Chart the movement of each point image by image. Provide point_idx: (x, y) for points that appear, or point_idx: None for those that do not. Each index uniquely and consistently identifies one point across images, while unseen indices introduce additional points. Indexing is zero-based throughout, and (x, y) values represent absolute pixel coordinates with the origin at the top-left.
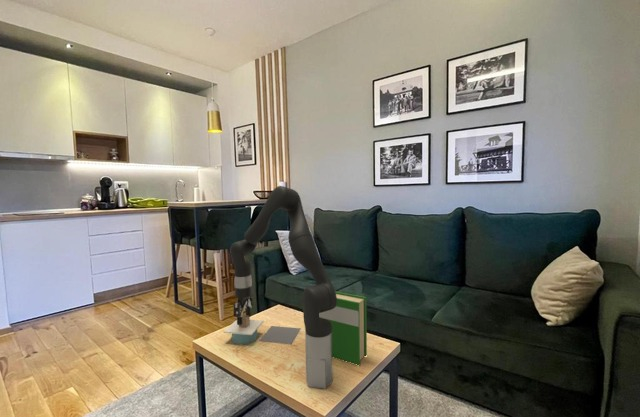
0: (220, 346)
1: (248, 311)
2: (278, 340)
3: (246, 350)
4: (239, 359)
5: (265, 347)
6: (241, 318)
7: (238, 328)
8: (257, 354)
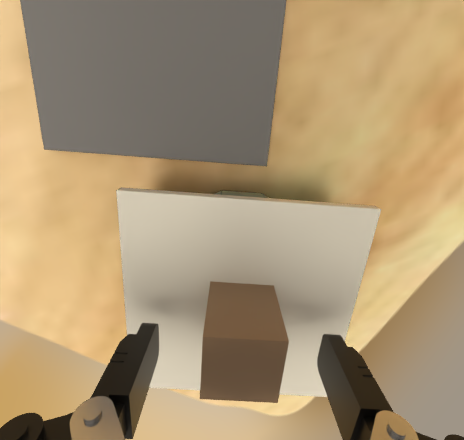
0: None
1: (141, 383)
2: (248, 18)
3: None
4: (449, 208)
5: (330, 98)
6: (369, 390)
7: (287, 332)
8: (411, 124)
